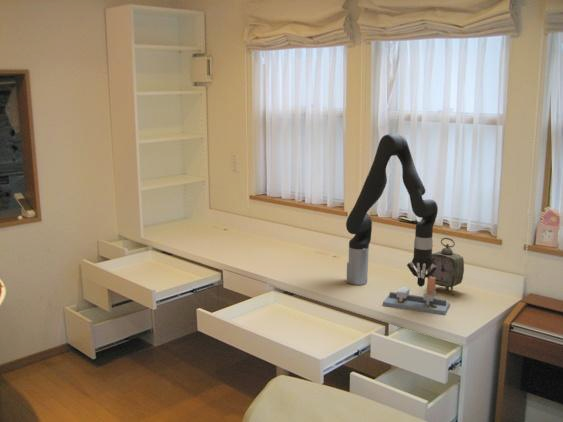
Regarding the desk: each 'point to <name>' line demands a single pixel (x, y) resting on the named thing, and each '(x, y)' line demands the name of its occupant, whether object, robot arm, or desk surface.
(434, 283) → the sliding leg
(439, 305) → the hole plate with beam
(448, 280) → the tabletop clock
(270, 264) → the desk surface
